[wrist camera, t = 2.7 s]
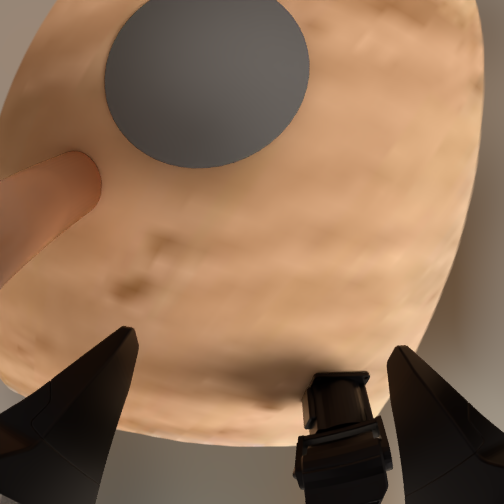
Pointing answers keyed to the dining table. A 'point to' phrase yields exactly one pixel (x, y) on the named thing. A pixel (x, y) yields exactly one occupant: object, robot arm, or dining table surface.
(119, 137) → the dining table surface
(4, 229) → the tan rounded cylinder
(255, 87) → the mat
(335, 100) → the dining table surface
